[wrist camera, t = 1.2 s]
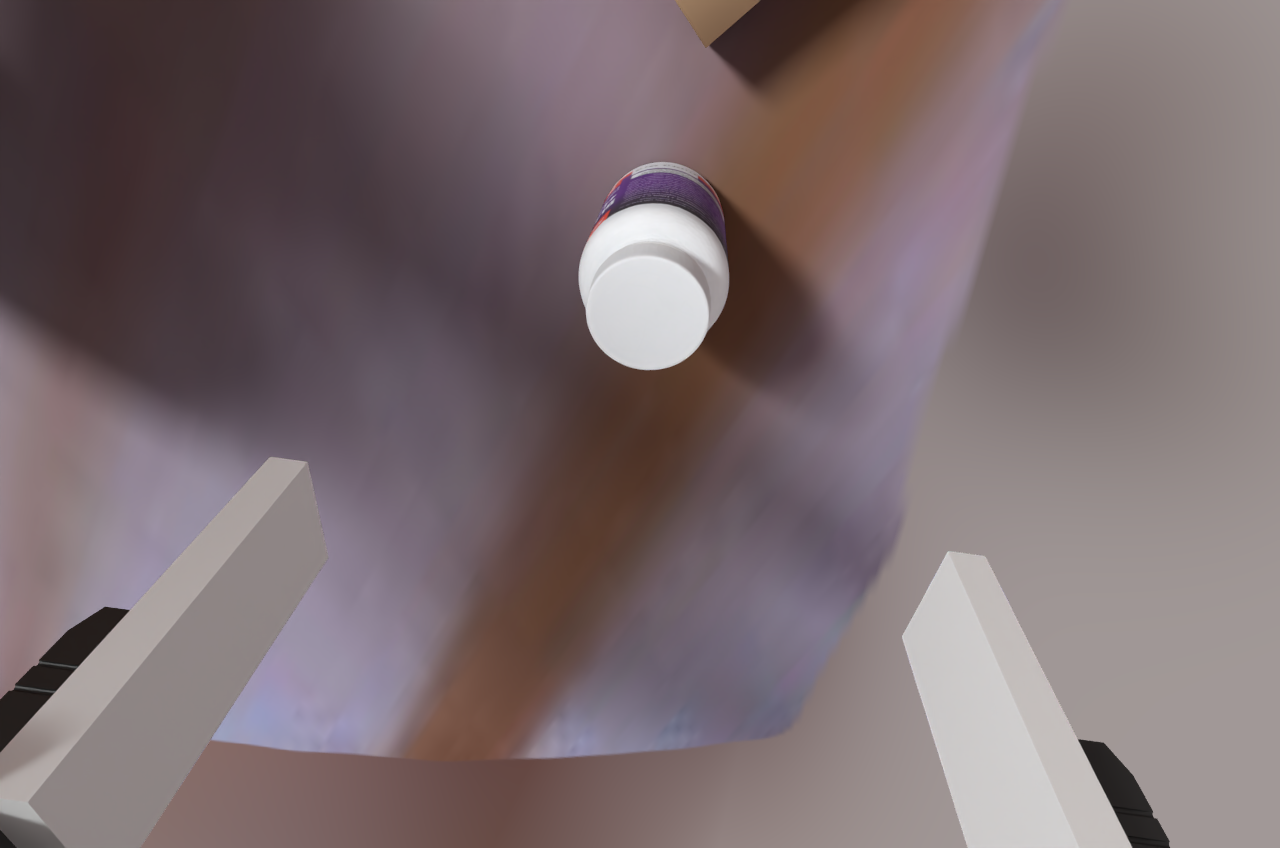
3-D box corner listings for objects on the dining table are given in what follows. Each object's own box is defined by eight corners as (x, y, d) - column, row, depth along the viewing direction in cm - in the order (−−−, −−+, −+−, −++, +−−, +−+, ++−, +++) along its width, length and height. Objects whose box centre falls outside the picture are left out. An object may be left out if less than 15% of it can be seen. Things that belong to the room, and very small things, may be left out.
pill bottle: (599, 159, 27) (556, 230, 19) (727, 159, 27) (739, 232, 19) (604, 281, 30) (569, 387, 22) (720, 283, 30) (727, 392, 22)
